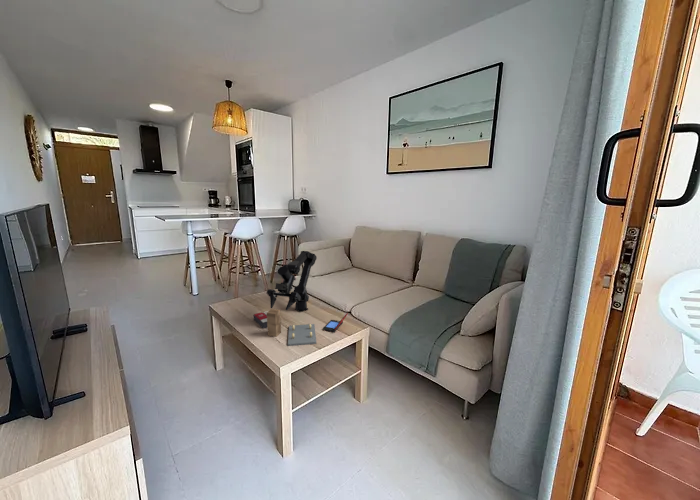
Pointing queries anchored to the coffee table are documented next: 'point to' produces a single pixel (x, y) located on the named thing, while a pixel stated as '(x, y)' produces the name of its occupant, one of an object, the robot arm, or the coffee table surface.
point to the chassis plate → (301, 335)
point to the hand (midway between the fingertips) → (278, 309)
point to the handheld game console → (333, 325)
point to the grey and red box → (261, 319)
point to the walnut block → (274, 322)
